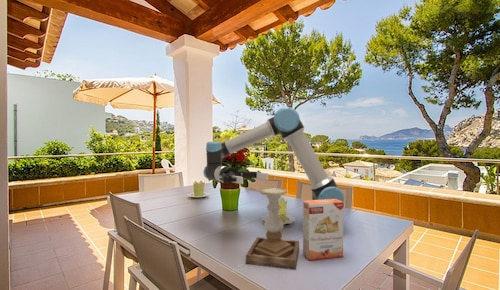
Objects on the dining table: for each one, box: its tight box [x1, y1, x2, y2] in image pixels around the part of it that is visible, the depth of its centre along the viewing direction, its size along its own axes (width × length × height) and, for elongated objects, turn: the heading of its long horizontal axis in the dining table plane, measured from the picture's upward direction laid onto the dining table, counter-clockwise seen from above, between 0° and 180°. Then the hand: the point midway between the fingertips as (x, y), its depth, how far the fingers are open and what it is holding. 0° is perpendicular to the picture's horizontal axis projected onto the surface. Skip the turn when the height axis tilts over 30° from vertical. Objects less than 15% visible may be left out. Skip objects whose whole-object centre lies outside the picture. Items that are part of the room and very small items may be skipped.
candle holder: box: [254, 187, 294, 258], centre depth 97 cm, size 11×11×24 cm
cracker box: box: [302, 199, 345, 261], centre depth 96 cm, size 14×6×21 cm, turn 101°
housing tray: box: [245, 236, 300, 270], centre depth 97 cm, size 17×17×3 cm
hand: (255, 178), depth 104 cm, fingers open, 13 cm apart
